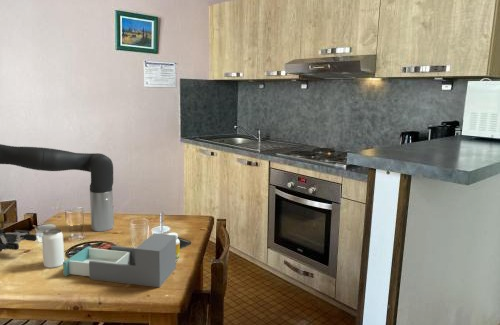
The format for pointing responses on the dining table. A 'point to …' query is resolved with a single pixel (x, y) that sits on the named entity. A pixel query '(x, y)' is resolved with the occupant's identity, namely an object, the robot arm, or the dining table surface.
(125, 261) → the tray
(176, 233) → the supplement bottle
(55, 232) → the can
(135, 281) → the dock
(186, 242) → the phone
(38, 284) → the dining table surface
